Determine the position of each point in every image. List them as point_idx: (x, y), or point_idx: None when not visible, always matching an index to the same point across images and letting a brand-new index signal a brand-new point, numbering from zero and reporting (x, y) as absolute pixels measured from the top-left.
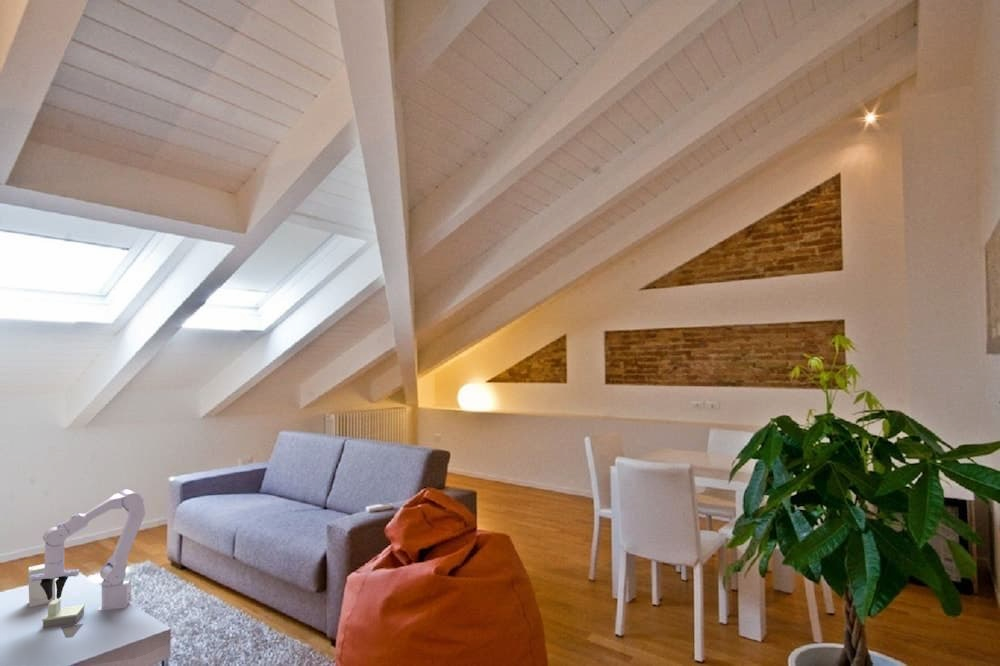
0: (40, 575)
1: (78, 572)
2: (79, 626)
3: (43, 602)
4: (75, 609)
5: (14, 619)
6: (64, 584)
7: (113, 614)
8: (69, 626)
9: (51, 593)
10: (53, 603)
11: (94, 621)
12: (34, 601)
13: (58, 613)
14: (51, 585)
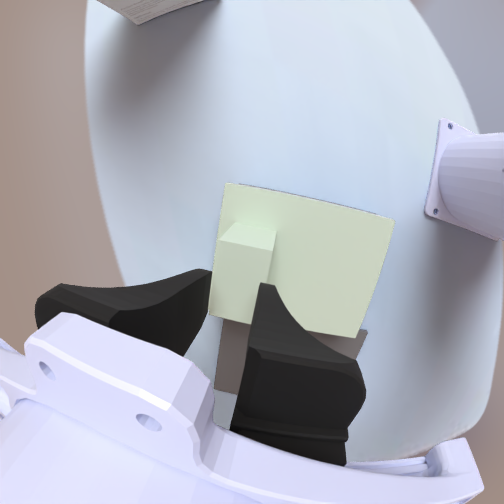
0: (5, 411)
1: (461, 471)
2: (354, 351)
3: (176, 3)
4: (352, 271)
5: (101, 112)
6: (303, 331)
7: (460, 288)
8: (322, 333)
9: (198, 299)
10: (237, 310)
11: (403, 319)
12: (139, 10)
13: (273, 279)
14: (164, 328)
